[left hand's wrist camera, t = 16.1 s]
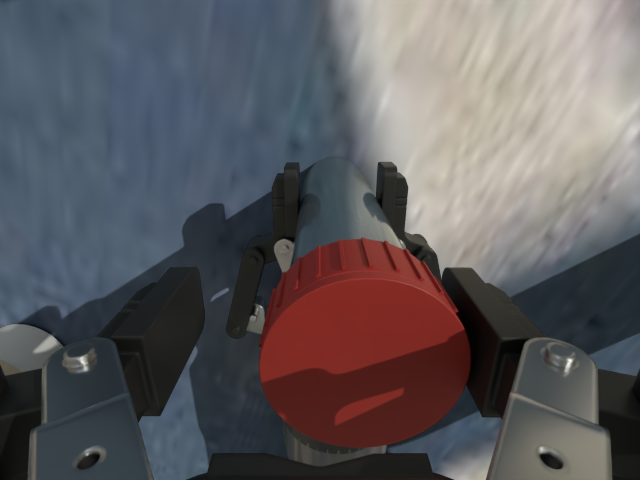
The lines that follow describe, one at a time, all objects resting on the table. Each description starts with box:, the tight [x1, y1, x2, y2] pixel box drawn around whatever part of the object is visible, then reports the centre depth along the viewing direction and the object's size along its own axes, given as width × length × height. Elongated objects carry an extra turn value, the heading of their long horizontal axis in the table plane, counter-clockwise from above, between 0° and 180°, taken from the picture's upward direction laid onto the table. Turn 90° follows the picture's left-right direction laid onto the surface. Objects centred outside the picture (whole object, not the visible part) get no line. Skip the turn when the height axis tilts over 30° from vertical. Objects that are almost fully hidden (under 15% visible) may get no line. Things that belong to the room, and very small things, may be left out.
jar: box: [290, 157, 404, 267], centre depth 18 cm, size 4×4×18 cm
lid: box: [259, 237, 471, 448], centre depth 10 cm, size 5×5×2 cm
